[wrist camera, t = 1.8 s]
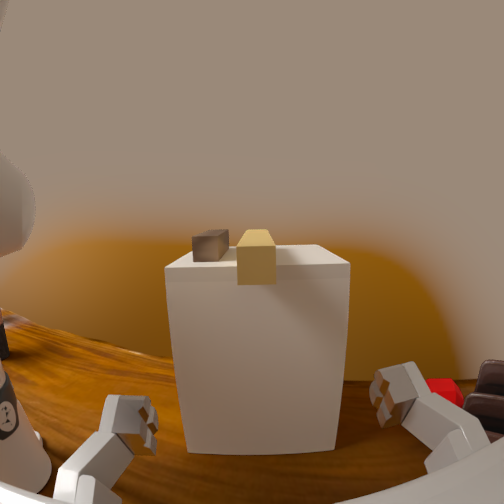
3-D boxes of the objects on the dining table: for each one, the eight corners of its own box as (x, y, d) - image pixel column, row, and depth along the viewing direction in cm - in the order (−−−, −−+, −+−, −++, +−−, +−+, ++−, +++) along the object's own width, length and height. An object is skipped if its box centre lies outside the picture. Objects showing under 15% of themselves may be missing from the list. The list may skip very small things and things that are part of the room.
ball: (457, 439, 33) (471, 397, 32) (407, 441, 36) (418, 399, 35) (449, 411, 40) (460, 371, 39) (405, 411, 43) (414, 372, 42)
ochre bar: (237, 285, 25) (236, 246, 25) (247, 249, 49) (246, 229, 49) (276, 284, 25) (275, 245, 25) (267, 249, 49) (266, 229, 48)
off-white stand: (188, 452, 37) (164, 267, 34) (207, 384, 57) (197, 247, 54) (334, 449, 37) (350, 263, 34) (313, 382, 57) (317, 244, 54)
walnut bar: (193, 262, 38) (191, 236, 37) (210, 248, 52) (209, 230, 51) (218, 261, 38) (217, 235, 37) (229, 248, 51) (228, 229, 51)
